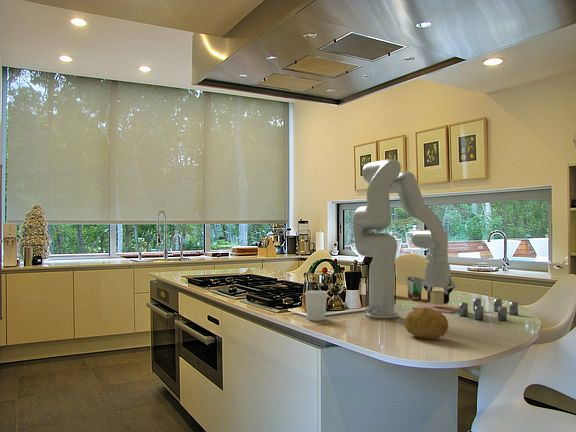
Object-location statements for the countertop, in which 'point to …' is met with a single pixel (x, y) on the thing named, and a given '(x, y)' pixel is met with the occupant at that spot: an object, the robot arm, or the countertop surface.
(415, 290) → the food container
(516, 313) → the standoff field
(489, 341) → the countertop surface
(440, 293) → the brass nut
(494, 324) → the countertop surface
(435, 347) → the countertop surface
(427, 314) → the potato
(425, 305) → the terracotta mat
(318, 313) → the white cup
